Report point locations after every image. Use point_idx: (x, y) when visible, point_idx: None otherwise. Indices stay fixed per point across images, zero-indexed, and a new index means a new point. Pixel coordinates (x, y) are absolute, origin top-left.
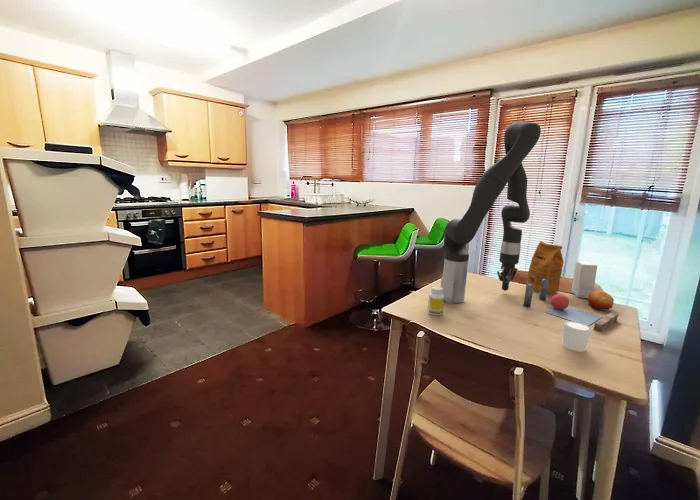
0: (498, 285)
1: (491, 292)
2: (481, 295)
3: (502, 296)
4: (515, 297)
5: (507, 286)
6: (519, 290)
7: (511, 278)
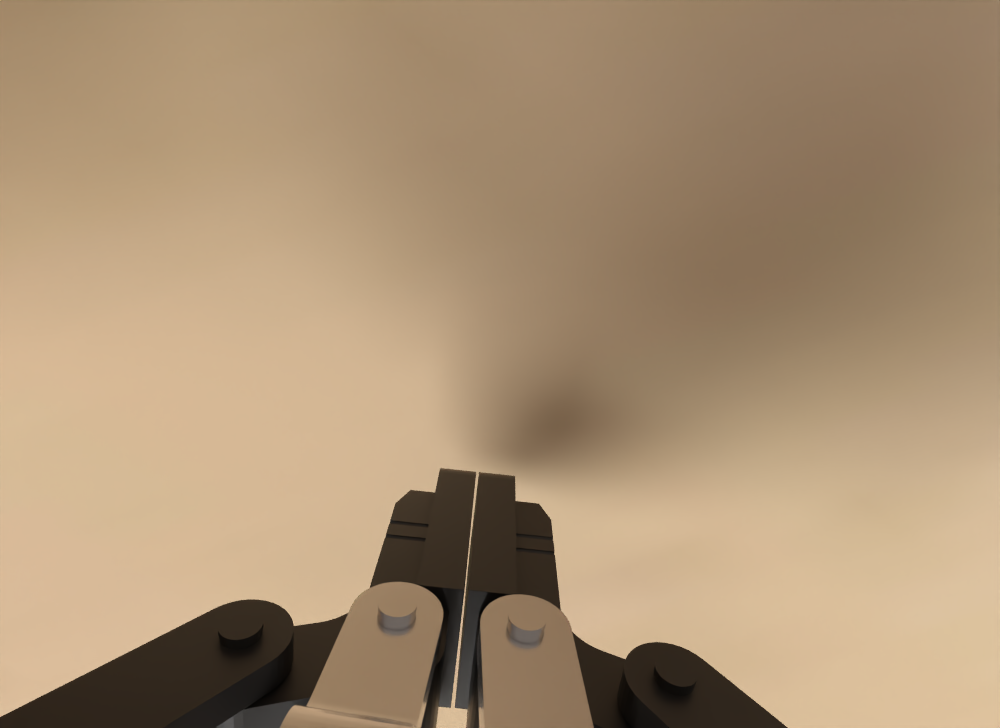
0: None
1: (626, 624)
2: (914, 662)
3: (695, 426)
4: (550, 232)
5: (491, 523)
6: (34, 346)
7: (277, 659)
